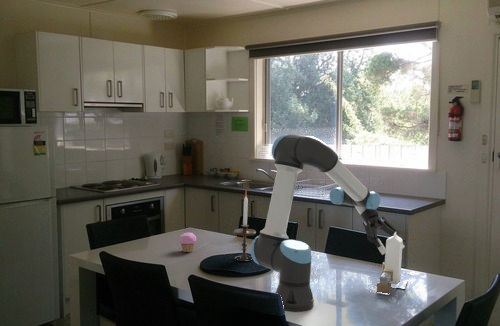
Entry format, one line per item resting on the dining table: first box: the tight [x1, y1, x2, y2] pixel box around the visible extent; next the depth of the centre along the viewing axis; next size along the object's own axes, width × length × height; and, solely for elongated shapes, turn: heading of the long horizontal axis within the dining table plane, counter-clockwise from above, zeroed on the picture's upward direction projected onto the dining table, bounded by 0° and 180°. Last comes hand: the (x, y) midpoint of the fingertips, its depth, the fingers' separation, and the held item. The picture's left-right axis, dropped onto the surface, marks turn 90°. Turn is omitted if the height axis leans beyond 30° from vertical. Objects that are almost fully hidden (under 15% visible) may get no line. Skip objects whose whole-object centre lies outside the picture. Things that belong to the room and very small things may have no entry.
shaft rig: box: [376, 261, 394, 294], centre depth 213 cm, size 34×12×8 cm, turn 158°
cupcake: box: [178, 232, 197, 253], centre depth 252 cm, size 9×9×10 cm
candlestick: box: [233, 190, 257, 261], centre depth 240 cm, size 11×11×35 cm
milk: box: [384, 232, 404, 284], centre depth 212 cm, size 6×6×22 cm
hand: (393, 250), depth 213 cm, fingers open, 13 cm apart
